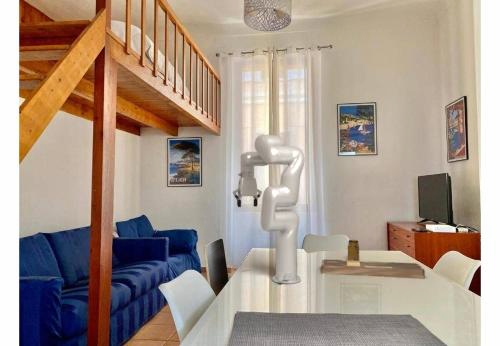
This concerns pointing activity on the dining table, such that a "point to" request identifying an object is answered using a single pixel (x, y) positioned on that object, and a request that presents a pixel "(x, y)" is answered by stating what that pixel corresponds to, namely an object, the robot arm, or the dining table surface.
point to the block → (353, 263)
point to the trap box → (374, 269)
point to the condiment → (353, 250)
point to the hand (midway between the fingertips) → (247, 206)
